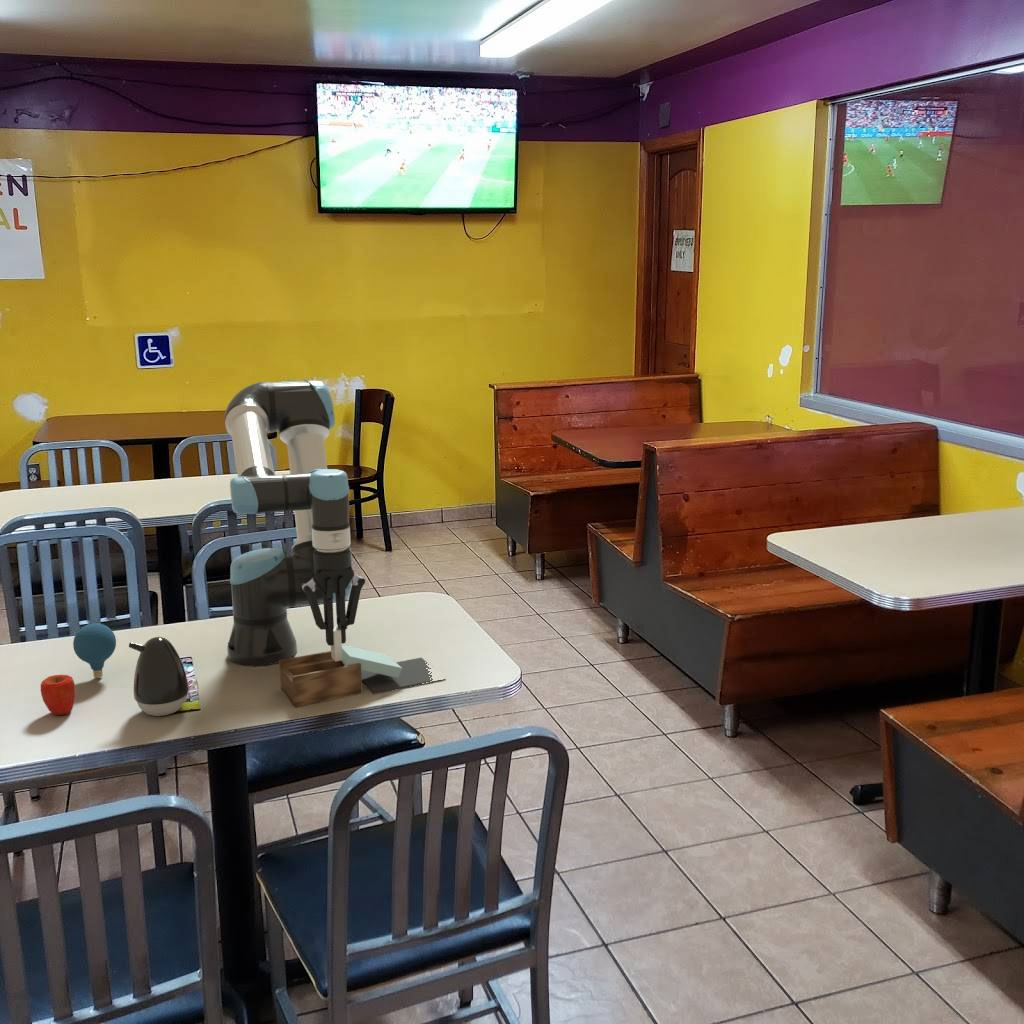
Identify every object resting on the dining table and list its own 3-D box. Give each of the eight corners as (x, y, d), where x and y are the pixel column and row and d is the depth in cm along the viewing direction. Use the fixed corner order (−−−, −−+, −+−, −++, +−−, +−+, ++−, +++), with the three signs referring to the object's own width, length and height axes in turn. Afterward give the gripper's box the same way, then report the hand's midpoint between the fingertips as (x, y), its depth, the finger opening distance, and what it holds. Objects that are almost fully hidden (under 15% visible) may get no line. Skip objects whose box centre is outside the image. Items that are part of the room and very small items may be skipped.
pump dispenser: (142, 700, 205) (135, 629, 202) (195, 698, 206) (189, 627, 203) (128, 722, 195) (120, 648, 192) (183, 720, 196) (177, 646, 193)
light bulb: (79, 688, 211) (73, 633, 208) (75, 674, 218) (69, 621, 216) (122, 681, 215) (116, 627, 212) (116, 667, 222) (111, 615, 219)
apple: (36, 715, 199) (32, 679, 197) (64, 703, 204) (60, 668, 202) (56, 722, 196) (52, 685, 194) (84, 710, 201) (80, 675, 199)
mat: (373, 694, 208) (373, 692, 208) (352, 672, 219) (352, 670, 219) (445, 679, 215) (445, 677, 215) (421, 659, 226) (421, 657, 226)
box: (294, 707, 202) (293, 677, 201) (280, 689, 211) (279, 660, 209) (362, 693, 208) (360, 664, 207) (345, 676, 217) (344, 648, 216)
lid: (346, 666, 206) (349, 656, 206) (333, 653, 213) (337, 643, 213) (398, 677, 212) (402, 668, 212) (384, 664, 219) (388, 655, 219)
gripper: (305, 556, 198) (310, 670, 203) (369, 548, 204) (373, 659, 209) (294, 547, 204) (300, 658, 210) (357, 539, 210) (361, 647, 216)
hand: (336, 658), depth 209 cm, fingers closed
